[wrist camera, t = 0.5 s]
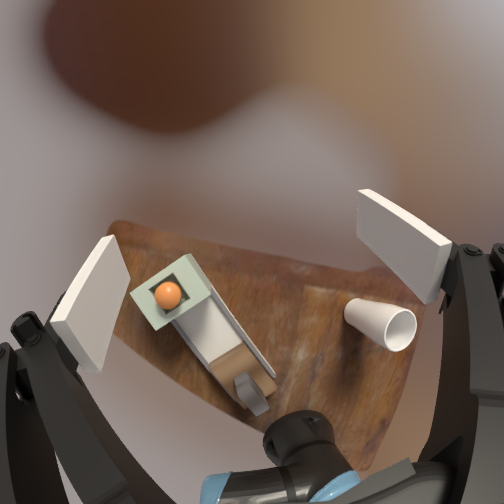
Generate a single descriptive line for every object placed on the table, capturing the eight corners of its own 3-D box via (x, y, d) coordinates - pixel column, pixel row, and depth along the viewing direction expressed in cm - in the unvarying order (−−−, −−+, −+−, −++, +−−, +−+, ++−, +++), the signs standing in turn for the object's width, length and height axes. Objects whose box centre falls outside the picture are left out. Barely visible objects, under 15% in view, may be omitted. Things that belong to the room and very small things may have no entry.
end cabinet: (210, 283, 46) (211, 294, 35) (167, 312, 45) (155, 330, 34) (190, 253, 45) (184, 254, 34) (147, 282, 44) (129, 293, 33)
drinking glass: (374, 309, 50) (423, 326, 36) (352, 334, 50) (397, 360, 35) (355, 286, 50) (404, 299, 35) (332, 313, 49) (376, 335, 34)
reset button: (186, 296, 35) (185, 300, 32) (167, 309, 34) (164, 314, 32) (172, 276, 35) (170, 278, 32) (153, 289, 34) (149, 292, 32)
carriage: (274, 381, 46) (287, 406, 37) (242, 401, 45) (249, 429, 36) (243, 341, 45) (251, 362, 36) (209, 362, 44) (210, 387, 35)
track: (273, 370, 47) (277, 376, 45) (233, 395, 46) (235, 402, 44) (210, 283, 46) (210, 285, 43) (167, 312, 45) (165, 315, 42)
